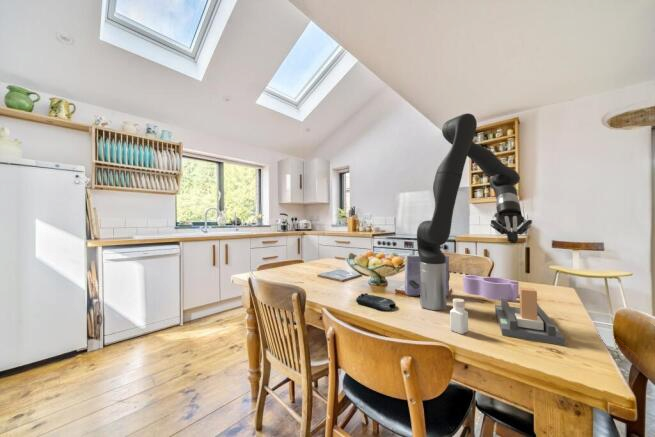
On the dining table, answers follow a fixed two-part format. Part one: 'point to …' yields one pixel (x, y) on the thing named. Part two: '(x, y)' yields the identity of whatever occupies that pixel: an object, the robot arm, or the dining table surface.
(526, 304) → the switch lever
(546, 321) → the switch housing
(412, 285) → the cake pan box
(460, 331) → the salt shaker
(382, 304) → the electronic device
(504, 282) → the lavender double ring holder
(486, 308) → the dining table surface
